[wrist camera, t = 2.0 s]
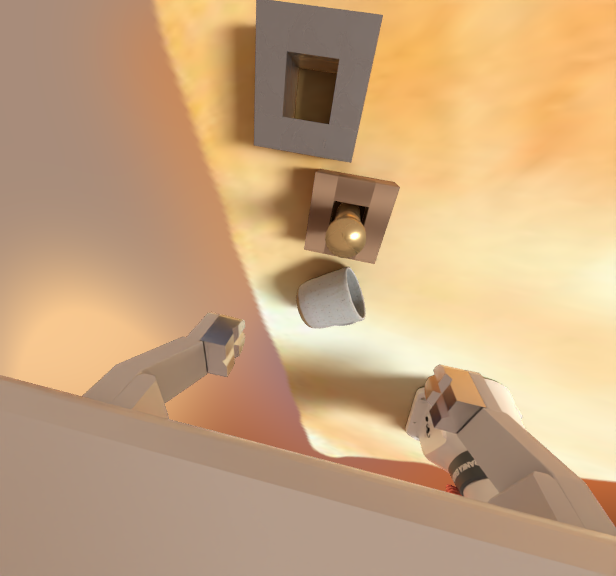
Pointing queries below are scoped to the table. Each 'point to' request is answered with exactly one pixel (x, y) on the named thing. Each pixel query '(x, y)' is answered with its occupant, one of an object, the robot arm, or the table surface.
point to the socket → (315, 56)
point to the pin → (346, 232)
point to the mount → (353, 191)
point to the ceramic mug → (331, 300)
